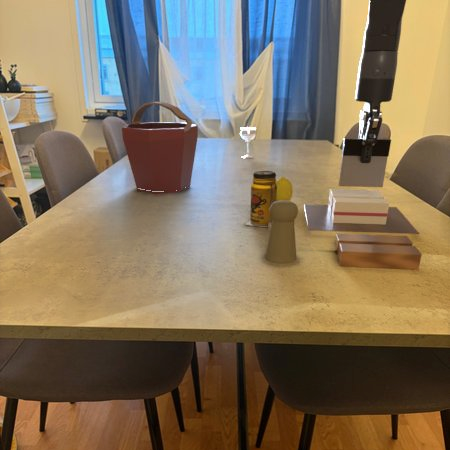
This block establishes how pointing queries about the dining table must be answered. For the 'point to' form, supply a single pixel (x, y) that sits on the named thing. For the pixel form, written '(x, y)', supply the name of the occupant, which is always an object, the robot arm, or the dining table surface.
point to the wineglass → (248, 137)
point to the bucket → (161, 151)
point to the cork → (282, 232)
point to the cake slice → (360, 211)
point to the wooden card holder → (376, 251)
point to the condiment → (262, 198)
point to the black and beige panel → (363, 172)
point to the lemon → (284, 189)
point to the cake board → (322, 221)
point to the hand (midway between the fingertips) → (364, 161)
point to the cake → (352, 195)
